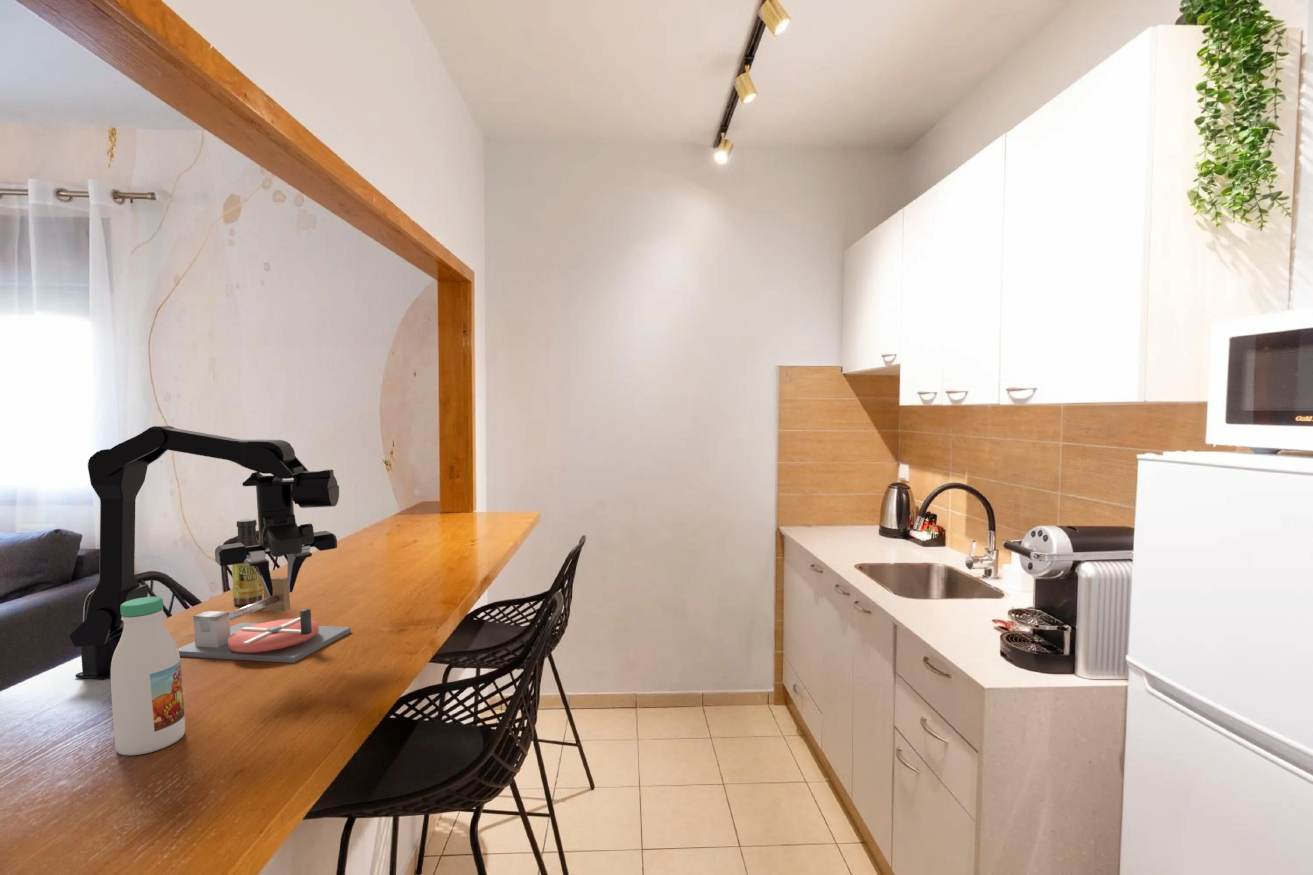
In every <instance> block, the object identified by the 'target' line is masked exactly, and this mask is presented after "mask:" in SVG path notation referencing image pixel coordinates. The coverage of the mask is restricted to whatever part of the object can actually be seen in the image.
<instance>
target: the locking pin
mask: <svg viewBox="0 0 1313 875" xmlns="http://www.w3.org/2000/svg"><path fill="white" fill-rule="evenodd" d="M271 581H272V587H273V596H270V595H269V594H268V592H267V589H266V587H265V585H264V583H263V599H262V600H261V601H258V602H256V603H253V604H249V605H244V606H243V607H241V608H238V609H235V610H233V611H230V612H229V621H233V620H236V619H238V618H241V617H243V616H247V615H249V614H251V613H253V612H257V611H259V610H262V609H264V611H265V612H266V611H267V612H268V611H269V612H270V611H271V612H273V611H274V612H286V611H289V610H291V600H290V596H291V595H290V592H289V591H288V583H287V576H271Z"/></svg>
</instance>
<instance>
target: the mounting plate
mask: <svg viewBox="0 0 1313 875" xmlns="http://www.w3.org/2000/svg"><path fill="white" fill-rule="evenodd" d="M229 613H230V612H229V611H216V610H215V611H213V610H207V611H203V612H200V613H198V614H196V615H193V616H192V617H193V629H194V641H193V642H191V643H188V644H185V645H183V646H181V647H178V651H179V655H180V657H183V658H184V657H187V658H201V659H203V658H205V659H220V660H237V661H239V660H240V661H254V662H255V661H256V662H257V661H259V662H272V663H273V662H274V663H289V664H291V663H292V664H294V663H296V662H298V661H299V660H301V659H303V658H305V657H308V656H309V655H312V653H315V652H316V651H318V650H320V649H322V648H324V647H326V646H328V645H330V644H331V643H334V642H335V641H337V640H339V639H341V638H342V637H345V636H346V635H348V634H351V632H352V629H351V627H349V626H331V625H330V626H329V625H328V626H327V625H318V626H319V631H318V633H317V634H316V635H315V636H314V637H312V638H310V639H308V640H306V641H304V642H301V643H299V644H296V645H292V646H289V647H285V648H280V649H275V650H270V651H262V652H237V651H233V650H231V649H229V647H228V638H229V637H230V636H231V635H232V634H234V633H235V632H237V631H239V630H241V629H242V628H244V627H250V626H253V625H257V624H261V623H262V622H239V623H237V624H234V625H232V626H231V624H230V623H231V622H230V620H229Z"/></svg>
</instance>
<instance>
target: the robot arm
mask: <svg viewBox="0 0 1313 875" xmlns="http://www.w3.org/2000/svg"><path fill="white" fill-rule="evenodd" d="M167 451H171V452H177V453H185V454H191V455H196V456H202V457H208V458H213V459H219V460H226V461H229V462H232V463H235V464H237V465H239V466H241V467H242V468H244V469H248V470H251V471H254V472H251V474H250V475H249V477H248V478H247V479H246V480H245V481H243V482H242V486H243V487H255V488H256V489H255V491H256V508H257V525H258V541H259V543H260V545H254V546H247V547H245V545H243V544H242V543H236V542H235V543H227V544H221V545H218V546H217V547H216V548H215V549H214V559H215V560H214V561H215V563H217V565H219V566H220V567H227V566H232V565H234V564H240V563H243V562H245V563H247V564H248V565H249V566H254V567H255V569H256V570H257V572H258V573H259V575H260V577H261V579H262V581H263V583H264V585H265V587H266V589H267V592H268V594H269V595H270V596H273V587H272V581H271V577H272V576H271V571H270V560H268V559H267V558H266V555H269V554H271V556H272V557H273V558H281V557H283V556H286V555H287V576H286V577H287V583H288V591H289V593H293V591H294V588H295V584H296V583H297V578H298V574H299V572H300V569H301V567H302V565H303V563H304V561H305V560H306V559H307V558H310V557H311V558H312V556H313V553H312V552H311V548H315V549H316V550H318V551H320V552H321V551H327V550H328V551H329V550H335V549H337V548H338V539H337V536H336V535H335V534H334V533H332V532H331V531H327V530H322V531H321V530H320V531H314V526H313V524H312V523H305V524H300V525H297V522H296V515H295V509H294V508H295V507H294V505H298V506H299V508H302V509H310V508H329V507H336V506H337V505H338V503H339V499H340V485H338V481H337V479H336V478H337V477H335V474H334V473H335V472H334V469H324V470H317V471H316V470H314V471H313V470H312V471H309V469H308V468H307V467H306V466H305V465H304V464H303V463H302V462H301V461H300V460H299V458H298V457H297V456H296V452H295V449H294V447H293V446H292V444H291V443H290V442H288V441H286V440H283V439H240V438H239V439H238V438H232V437H229V436H228V437H227V436H223V435H222V436H221V435H215V434H210V433H205V432H200V431H199V432H198V431H194V430H189V429H188V430H187V429H181V428H176V427H174V426H172V425H154V426H151V427H148V428H147V429H145V430H144V431H143V432H141V433H139V434H138V435H136V436H133V437H131V438H128V439H126V440H124V441H123V442H121V443H118V444H116V445H114V446H113V447H111V448H106V449H101V450H99V451H96V452H95V453H94V454H92V455H91V456H90V457H89V459H88V461H87V470H88V475H89V481H90V486H91V487H92V488H93V490H94V492H95V493H96V495H97V497H98V498H99V501H100V502H99V503H100V504H99V509H100V510H99V511H100V512H99V513H100V514H99V515H100V516H99V567H98V568H99V570H98V573H99V574H98V575H99V578H98V583H96V584H97V585H96V586H95V588H94V590H93V592H92V594H91V596H90V597H89V600H88V605H87V609H86V614H85V620H83V622H82V623H81V624H79V626H78V627H77V628H76V629H74V630H73V632H71V634H70V635H69V639H70V641H71V643H72V645H73V647H76V648H77V647H79V648H80V654H81V655H80V658H81V667H82V668H81V670H82V671H81V672H80V671H79V673H75V678H80V679H83V678H84V679H95V680H96V679H97V680H105V679H109V678H111V662H112V657H113V654H114V652H115V649H116V647H117V645H118V643H119V641H120V638H121V635H122V632H123V628H124V621H122V620H121V618H122V616H121V611H120V607H121V604H123V603H124V602H127V601H129V600H133V599H138V598H143V597H149V590H150V586H149V584H140V583H139V582H138V580H137V578H136V576H135V557H136V556H135V550H136V548H135V547H136V499H137V496H138V494H139V492H140V490H141V489H142V486H143V485H144V483H145V481H146V476H147V471H148V467H149V465H150V464H152V463H154V462H156V461H157V460H159V459H160V458H161V457H162V456H163V455H164V454H165V453H166V452H167ZM263 474H268V475H263ZM269 474H270V475H269Z"/></svg>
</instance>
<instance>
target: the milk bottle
mask: <svg viewBox="0 0 1313 875" xmlns="http://www.w3.org/2000/svg"><path fill="white" fill-rule="evenodd" d="M163 600H164V599H163V597H161V596H147V597H143V598H138V599H133V600H129V601H127V602H124V603H123V604H121V607H120V611H121V616H122V618H121V620H122V621H124V628H123V632H122V635H121V638H120V641H119V643H118V645H117V647H116V649H115V652H114V654H113V657H112V662H111V677H110V690H111V706H112V708H111V710H112V721H113V734H114V745H115V746H114V747H115V751H116V752H117V753H118V754H119V755H121V756H139V755H144V754H150V753H154V752H156V751H159V750H162V749H164V748H167V747H169V746H171V745H173V744H175V743H176V742H178V741H179V740H180V739H182V738H183V737H184V734H185V731H186V718H185V703H184V702H185V701H184V688H183V676H182V674H183V673H182V663H181V656H180V655H179V651H178V648H179V647H178V645H177V642H176V641H175V640H174V638H173V637H172V635H171V633H169V631H168V629H167V627H166V626H165V622H164V620H163V617H162V616H163V614H164V601H163Z"/></svg>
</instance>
